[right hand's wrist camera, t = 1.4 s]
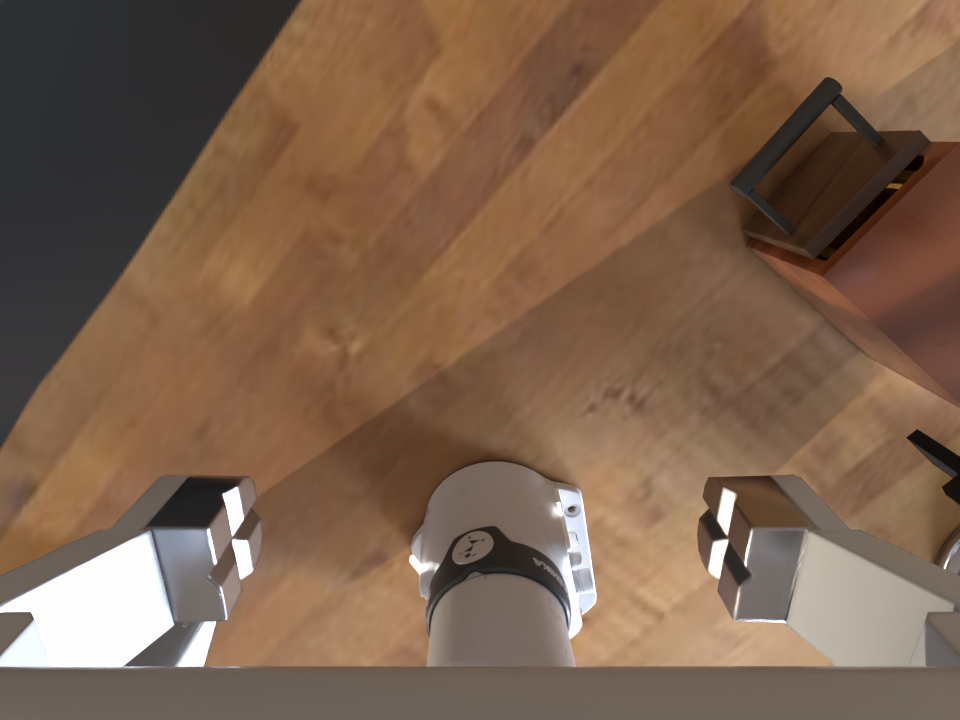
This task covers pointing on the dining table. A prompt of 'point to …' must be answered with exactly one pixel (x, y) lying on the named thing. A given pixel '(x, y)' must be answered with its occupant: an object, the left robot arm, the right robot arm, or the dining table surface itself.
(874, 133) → the drawer
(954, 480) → the left robot arm
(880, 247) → the cabinet
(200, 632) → the hard drive box
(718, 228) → the dining table surface
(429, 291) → the dining table surface
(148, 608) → the right robot arm
